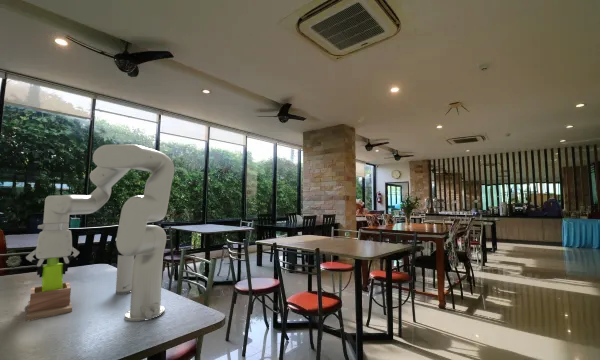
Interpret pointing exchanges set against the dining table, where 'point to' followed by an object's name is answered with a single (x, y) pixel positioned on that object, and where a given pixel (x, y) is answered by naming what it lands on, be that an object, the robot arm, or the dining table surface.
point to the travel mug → (124, 273)
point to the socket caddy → (49, 302)
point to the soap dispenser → (52, 275)
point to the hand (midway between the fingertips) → (52, 274)
